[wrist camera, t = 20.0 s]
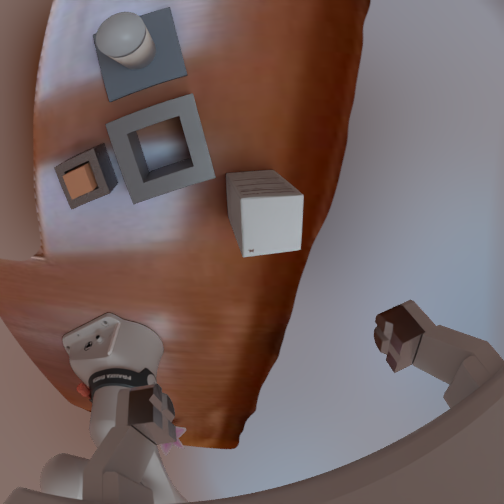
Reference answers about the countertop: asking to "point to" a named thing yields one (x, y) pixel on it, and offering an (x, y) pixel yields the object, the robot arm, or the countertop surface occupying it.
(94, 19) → the countertop surface
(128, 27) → the cylinder
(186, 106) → the housing
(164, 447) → the lily
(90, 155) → the frame
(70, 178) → the plunger
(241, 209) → the supplement box
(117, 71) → the mat
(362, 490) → the robot arm
